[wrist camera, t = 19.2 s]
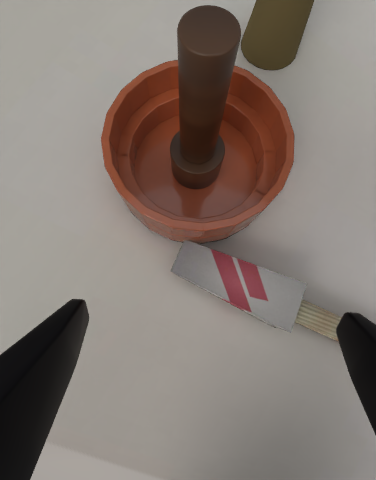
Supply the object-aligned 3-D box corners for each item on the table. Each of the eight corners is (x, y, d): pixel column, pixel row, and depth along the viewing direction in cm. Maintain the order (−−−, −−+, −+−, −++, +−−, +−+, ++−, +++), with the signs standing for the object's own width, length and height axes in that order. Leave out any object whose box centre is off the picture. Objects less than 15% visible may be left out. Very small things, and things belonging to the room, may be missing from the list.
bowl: (200, 277, 21) (205, 273, 16) (87, 172, 23) (61, 139, 18) (301, 167, 23) (332, 134, 18) (191, 80, 25) (193, 28, 20)
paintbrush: (188, 229, 18) (436, 342, 18) (186, 236, 21) (401, 335, 21) (166, 275, 18) (424, 396, 17) (167, 277, 20) (390, 381, 20)
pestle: (221, 189, 22) (264, 70, 10) (172, 190, 22) (159, 71, 10) (218, 145, 23) (254, -10, 11) (171, 146, 23) (158, -10, 11)
